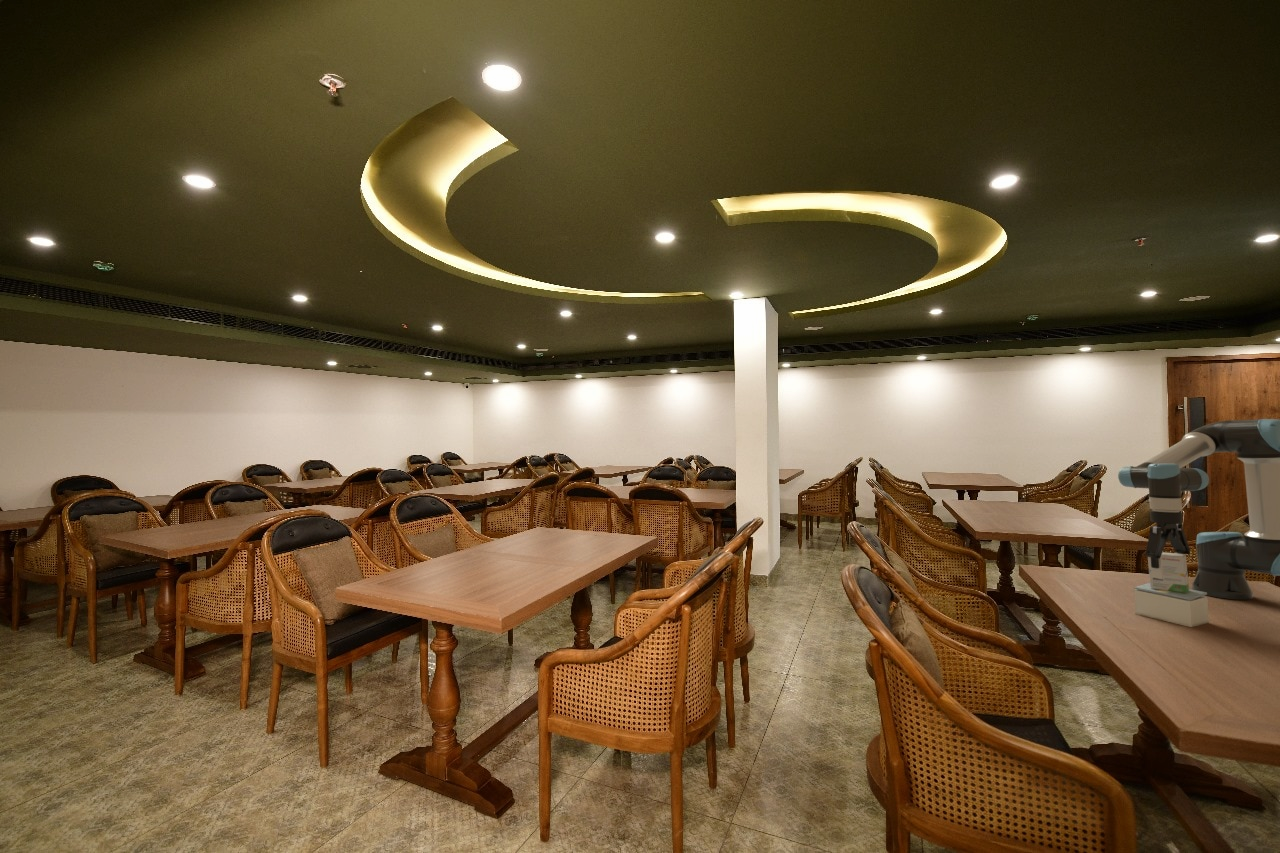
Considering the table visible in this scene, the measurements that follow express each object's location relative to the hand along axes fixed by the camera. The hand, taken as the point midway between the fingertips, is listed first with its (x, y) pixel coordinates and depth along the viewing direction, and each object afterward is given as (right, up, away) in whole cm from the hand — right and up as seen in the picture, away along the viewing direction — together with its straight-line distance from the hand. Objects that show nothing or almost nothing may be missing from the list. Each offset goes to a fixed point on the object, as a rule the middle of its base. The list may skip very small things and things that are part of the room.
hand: (1169, 575), depth 172 cm
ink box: (0, -5, 0) cm, 5 cm away
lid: (0, -5, 0) cm, 5 cm away
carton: (0, -14, 0) cm, 14 cm away
